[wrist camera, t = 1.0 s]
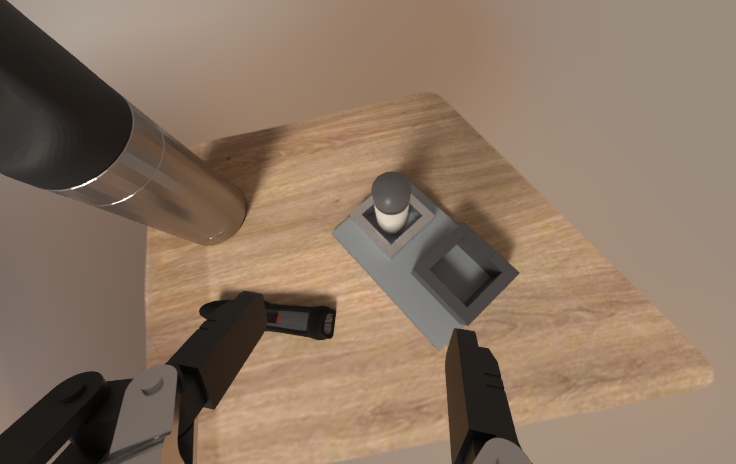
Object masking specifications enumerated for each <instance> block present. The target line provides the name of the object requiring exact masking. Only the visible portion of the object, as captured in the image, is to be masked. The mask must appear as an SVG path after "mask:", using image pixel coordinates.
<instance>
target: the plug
mask: <svg viewBox="0 0 736 464" xmlns="http://www.w3.org/2000/svg"><path fill="white" fill-rule="evenodd" d="M372 195H373V201H374V207H375V212H376V218H377V224H378V227H379V229H380V230H381V232H383V233H384V234H386V235H389V236H394V235H398V234H400V233H401V232H402V231H403V230H404V229H405V227H406V222H407V215H408V209H409V202H410V195H411V185H410V182H409V180H408V179H407V178H406V177H405V176H404V175H402V174H400V173H397V172H386V173H383V174H381V175H380V176H378V177H377V178H376V180H375V181H374V183H373V185H372Z"/></svg>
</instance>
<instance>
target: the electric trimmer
mask: <svg viewBox="0 0 736 464" xmlns="http://www.w3.org/2000/svg"><path fill="white" fill-rule="evenodd" d="M228 301H232V302H233V301H234V300H221V301H213V302H210V303H207V304H205V305H203V306H202V307H201V308H200V310H199V312H200V315H201V316H202V317H204V318H205V319H207V318H208V317H209V316H210V315H211V314H212V313H213V312H214V311H215V310H216V309H217V308H218V307H220V306H222V305H223V304H225V303H226V302H228ZM264 304H265V310H266V315H267V326H266V329H265V331H272V332H280V333H286V334H292V335H298V336H304V337H310V338H313V339H316V340H325V339H330V338H332V337H333V332H334V324H335V316H336V311H335V310H334V309H330V308H329V307H326V306H319V307H301V306H286V305H277V304H272V303H269V302H267V301H264Z"/></svg>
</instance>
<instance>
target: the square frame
mask: <svg viewBox="0 0 736 464" xmlns="http://www.w3.org/2000/svg"><path fill="white" fill-rule="evenodd" d="M408 211H409V212H410V213H411V214H412V215H413V216H414V217H415V218H416V219H418V220H417V221H416V222H415V223H414V224H413V225H412V226H411V227H410V228H409V229H407V230H406V231H405V232H404V233H403V234H402V235H401V236H400V237H399V238H398V239H397V240H395V241H394V242H393V243H392V244H390V243H389V242H388V241H387V240H386V239H385V238H384V237H383V236H382V235H381V234H380V233H379V232H378V231H377V230H376V229H375V228H374V227H373V226H372V225H371V224H370V223H369V222H368V221H367V220H366V219H367V218H368V217H369V216H370V215H371V214H372V213H374V212H375V207H374V201H373V195H371V196H370V197H369V198H368V199H367V200H365V201H364V202H363V203H362V204H361V205H360V206H359V207H357V208H356V209H355V210H354V211H353V212H352V213H351V214H350V216H351V219H352V221H353V222H354V223H355V224H356V225H357V226H358V227H359V228H360V229H361V230H362V231H363V232H364V233H365V235H366V236H367V237H368V238H369V239H370V240H371V241H372V242H373V243H374V244H375V245H376V246H377V247H378V248H379V249H380V250H381V251H382V252H383V253H384V254H385V255H386V257H387V258H388V259H389V260H390V261H391V260H392V259H393V258H395V257H396V256H397V255H398V254H399V253H400V252H401V251H402V250H403V249H404V248H405V247H406V246H407V245H409V244H410V243H411V242H412V241H413V240H414V239H415V238H416V237H417V236H418V235H419V234H420V233H422V232H423V231H424V230H425V229H426V228H427V227H428V226H429V225H430V224H431V223H432V222H433V220H434V217H435V215H434V214H433V213H432V212H431V211H429V210H428V209H427V208H426V207H425V206H424V205H423V204H422V203H421V202H420V201H419V200H418V199H417V198H415V197H414V196H413V195H412V194H411V195H410V202H409V209H408Z"/></svg>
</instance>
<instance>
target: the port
mask: <svg viewBox="0 0 736 464" xmlns="http://www.w3.org/2000/svg"><path fill="white" fill-rule="evenodd" d="M456 245H458V246H459V247H460V248H461V249H462V250H463V251H464V252H465V253H466V254H467V255H468V256H469V257H470V258H472V259H473V260H474V261H475V262H476V263H477V264H478V265H479V266H480V267H481V268H482V269H483V270H484V271H485V272H486V273H488V274H489V275H490V276H491V277H490V278H489V279H488V280H487V281H486V282H485V283H484V284H483V285H482V286H481V287H480V288H479V289H478V290H477V291H476V292H475V293H474V294H473V295H472V296H471V297H470V298H469V299H468V300H467V301H466V302H465V303H464V304H463V303H462V302H461V301H460V300H459V299H458V298H457V297H456V296H455V295H454V294H453V293H452V292H451V291H450V290H449V289H448V288H447V287H446V286H445V285H444V284H443V283H442V282H441V281H440V280H439V279H438V278H437V277H436V276H435V275H434V274H433V273H432V272H431V271H430V269H432V268H433V267H434V266H435V265H436V264H437V263H438V262H439V261H440V260H441V259H442V258H443V257H444V256H445V255H446V254H447V253H448V252H449V251H450V250H451V249H452V248H453V247H454V246H456ZM411 274H412V275H413V276H414V277H415V278H416V279H417V280H418V281H419V282H420V283H421V285H422V286H423V287H424V288H425V289H426V290H427V291H428V292H429V293H430V294H431V295H432V296H433V297H434V298H435V299H436V300H437V301H438V302H439V303H440V304H441V305H442V306H443V307H444V308H445V309H446V310H447V311H448V312H449V314H450V315H451V316H452V317H453V318H454V319H455V320H456V321H457V322H458V323H459V324H461V325H467V326H468V325H469V324H470V323H471V322H472V321H473V320H474V319H475V318H476V317H477V316H478V315H479V314H480V313H481V312H482V311H483V310H484V309H485V308H486V307H487V306H488V305H489V304H490V303H491V302H492V301H493V300H494V299H495V298H496V297H497V296H498V295H499V294H500V293H501V292H502V291H503V290H504V289H505V288H506V287H507V286H508V285H509V284H510V283H511V282H512V281H513V279H514V278H515V277H516V276H517V275H518V274H519V272H518V271H517V270H516V269H515V268H514V267H513V266H512V265H510V264H509V263H508V262H507V261H506V260H505V259H504V258H503V257H502V256H501V255H499V254H498V253H497V252H496V251H495V250H494V249H493V248H492V247H491V246H490V245H488V244H487V243H486V242H485V241H484V240H483V239H482V238H481V237H479V236H478V235H477V234H476V233H475V232H474V231H473V230H472V229H471V228H470V227H468V226H467V225H466V224H465V223H464V222H462V223H461V224H460V225H459V226H458V227H457V228H456V229H455V230H454V231H453V232H452V233H451V234H450V235H449V236H448V237H447V238H445V239H444V240H443V241H442V242H441V243H440V244H439V245H438V246H437V247H436V248H435V249H434V250H433V251H432V252H431V253H430V254H429V255H427V256H426V257H425V258H424V259H423V260H422V261H421V262H420V263H419V264H418V265H417V266H416V267H415V268H414V269H413V270H412V272H411Z"/></svg>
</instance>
